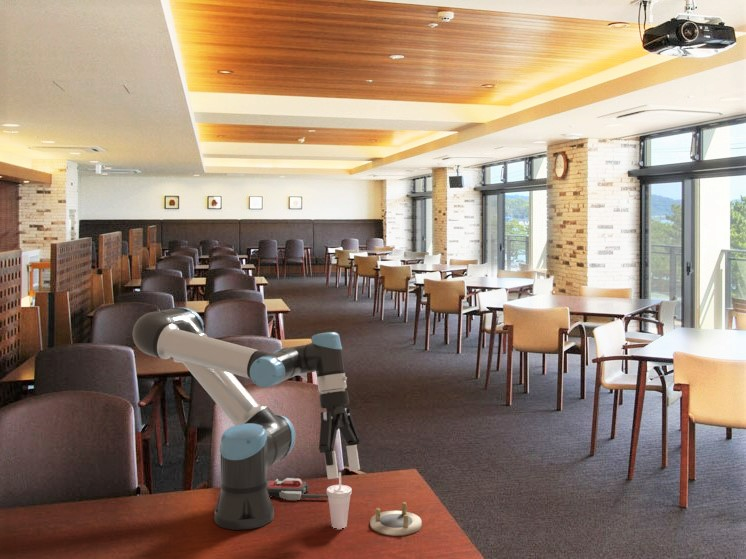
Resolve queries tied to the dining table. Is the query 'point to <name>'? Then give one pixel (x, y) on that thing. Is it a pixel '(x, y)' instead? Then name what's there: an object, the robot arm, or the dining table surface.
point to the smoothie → (339, 504)
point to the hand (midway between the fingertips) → (344, 474)
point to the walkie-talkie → (290, 489)
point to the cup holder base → (396, 522)
